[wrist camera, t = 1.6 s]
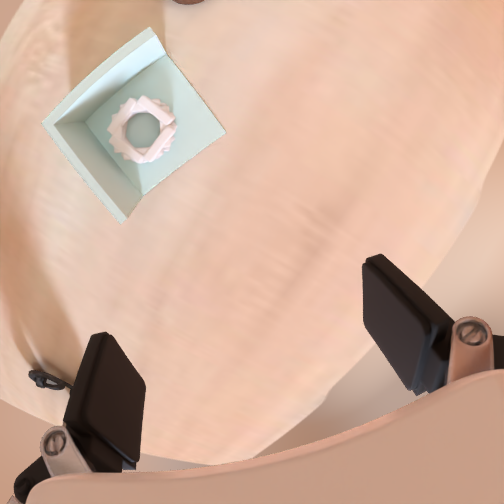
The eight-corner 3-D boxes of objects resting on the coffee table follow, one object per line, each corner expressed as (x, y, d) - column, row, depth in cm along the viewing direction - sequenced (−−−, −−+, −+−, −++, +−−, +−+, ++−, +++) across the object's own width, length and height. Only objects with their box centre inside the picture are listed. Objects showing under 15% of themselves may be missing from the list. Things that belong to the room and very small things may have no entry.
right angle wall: (137, 201, 30) (120, 224, 24) (73, 120, 25) (40, 123, 18) (226, 132, 29) (234, 136, 22) (161, 47, 24) (149, 26, 17)
